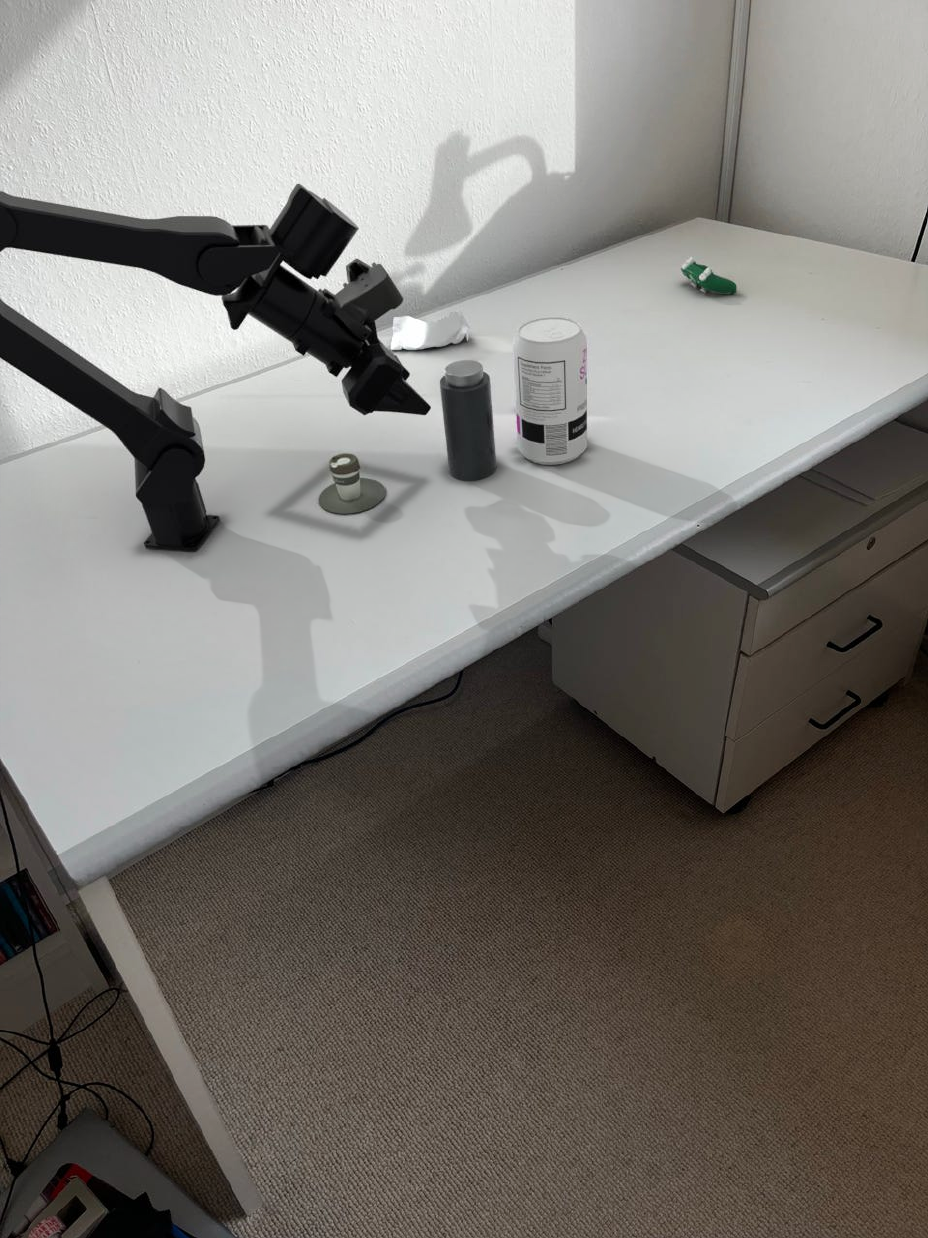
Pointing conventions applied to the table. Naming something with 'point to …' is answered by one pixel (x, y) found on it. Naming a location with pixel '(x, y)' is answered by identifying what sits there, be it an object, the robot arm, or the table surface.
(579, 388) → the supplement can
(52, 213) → the robot arm
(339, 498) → the coffee cup
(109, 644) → the table surface
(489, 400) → the flask
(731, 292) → the green toy car
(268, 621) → the table surface
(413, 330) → the fabric
